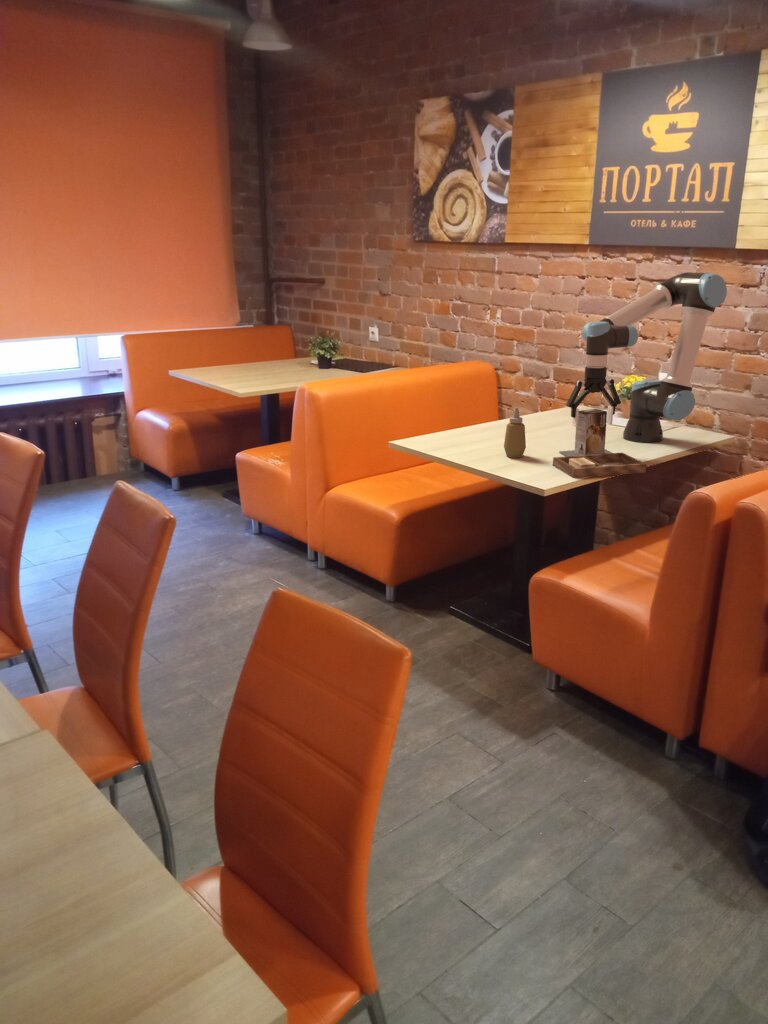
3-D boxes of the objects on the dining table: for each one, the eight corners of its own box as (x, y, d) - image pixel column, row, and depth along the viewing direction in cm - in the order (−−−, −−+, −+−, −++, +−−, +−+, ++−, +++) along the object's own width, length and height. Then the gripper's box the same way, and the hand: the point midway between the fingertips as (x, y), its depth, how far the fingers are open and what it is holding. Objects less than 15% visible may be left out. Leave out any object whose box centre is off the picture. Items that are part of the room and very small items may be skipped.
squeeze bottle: (501, 453, 305) (502, 406, 300) (522, 453, 306) (524, 405, 300) (506, 459, 298) (508, 410, 292) (528, 458, 298) (530, 409, 293)
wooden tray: (621, 460, 295) (622, 452, 294) (645, 472, 279) (646, 464, 278) (552, 465, 289) (553, 457, 288) (573, 477, 274) (573, 469, 273)
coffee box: (593, 450, 306) (596, 408, 301) (604, 454, 301) (608, 411, 296) (573, 453, 303) (576, 410, 298) (584, 457, 297) (588, 413, 292)
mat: (603, 449, 310) (603, 448, 310) (620, 458, 298) (620, 456, 298) (559, 452, 306) (559, 451, 306) (574, 461, 294) (574, 459, 294)
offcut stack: (583, 467, 288) (584, 457, 287) (596, 474, 279) (597, 464, 278) (568, 468, 286) (568, 458, 285) (580, 475, 278) (581, 465, 276)
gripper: (622, 363, 298) (618, 420, 305) (558, 366, 293) (556, 425, 299) (633, 366, 291) (628, 424, 298) (568, 369, 286) (564, 429, 292)
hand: (592, 425), depth 299 cm, fingers open, 13 cm apart
